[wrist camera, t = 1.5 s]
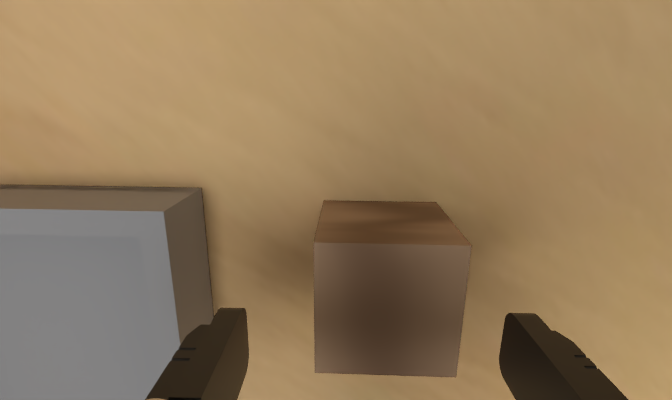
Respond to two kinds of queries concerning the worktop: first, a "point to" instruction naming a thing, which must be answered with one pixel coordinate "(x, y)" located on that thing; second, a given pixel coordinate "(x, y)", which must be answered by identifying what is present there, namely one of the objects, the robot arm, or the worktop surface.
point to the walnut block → (388, 289)
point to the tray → (97, 288)
